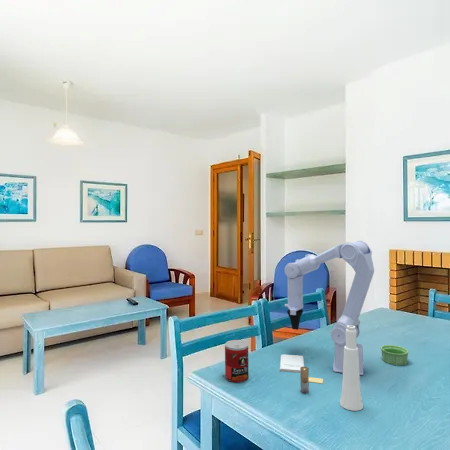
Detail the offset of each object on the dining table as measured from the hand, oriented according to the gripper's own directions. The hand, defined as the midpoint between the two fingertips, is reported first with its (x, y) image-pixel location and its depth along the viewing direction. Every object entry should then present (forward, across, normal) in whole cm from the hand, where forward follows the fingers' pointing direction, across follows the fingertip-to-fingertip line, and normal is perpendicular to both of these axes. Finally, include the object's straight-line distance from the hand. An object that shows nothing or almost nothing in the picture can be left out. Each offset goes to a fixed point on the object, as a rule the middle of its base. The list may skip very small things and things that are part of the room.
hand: (295, 328), depth 132 cm
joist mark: (+9, +21, +8) cm, 25 cm away
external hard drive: (+10, +11, 0) cm, 15 cm away
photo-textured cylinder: (+9, +29, +6) cm, 31 cm away
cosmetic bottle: (+10, +33, +19) cm, 39 cm away
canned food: (+10, +26, -16) cm, 32 cm away
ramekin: (+10, -3, +35) cm, 36 cm away
